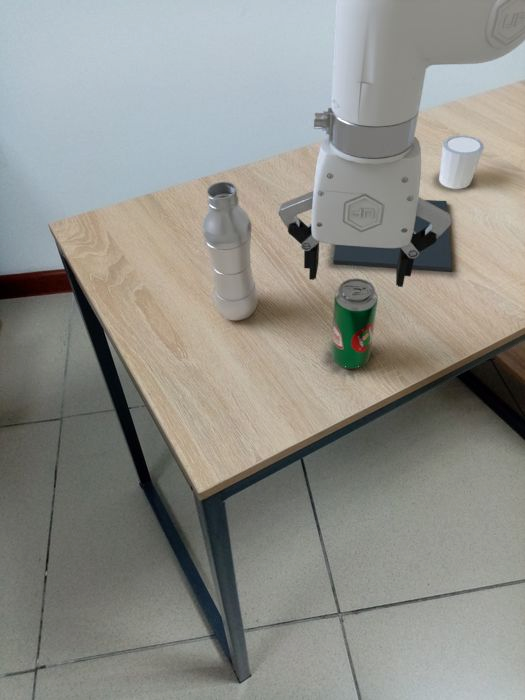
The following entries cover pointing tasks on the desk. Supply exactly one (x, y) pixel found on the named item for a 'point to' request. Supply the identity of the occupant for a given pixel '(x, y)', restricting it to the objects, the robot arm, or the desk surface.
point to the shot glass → (459, 161)
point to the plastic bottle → (229, 252)
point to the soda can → (353, 323)
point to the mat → (427, 259)
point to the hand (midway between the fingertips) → (356, 275)
